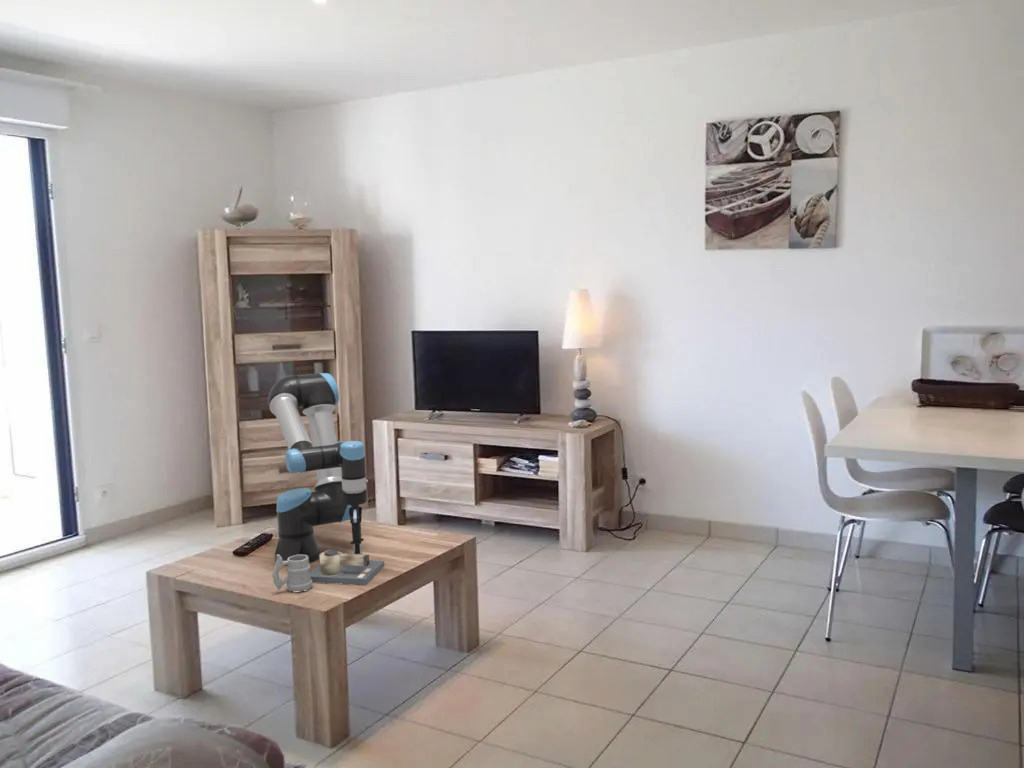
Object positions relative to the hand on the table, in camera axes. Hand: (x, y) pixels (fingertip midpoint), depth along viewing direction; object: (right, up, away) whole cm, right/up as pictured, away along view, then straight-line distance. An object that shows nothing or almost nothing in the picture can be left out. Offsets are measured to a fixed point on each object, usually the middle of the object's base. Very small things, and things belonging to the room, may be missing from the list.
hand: (358, 562), depth 271 cm
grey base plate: (-4, -4, +2) cm, 6 cm away
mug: (-18, -7, -11) cm, 22 cm away
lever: (-4, -3, -3) cm, 5 cm away
